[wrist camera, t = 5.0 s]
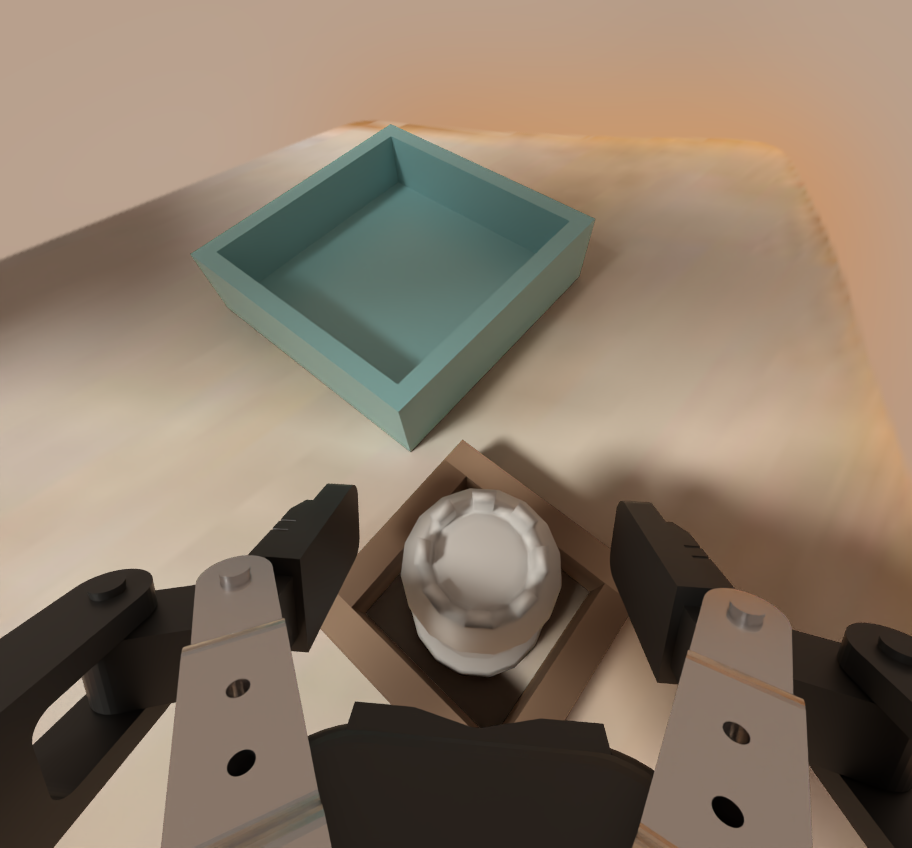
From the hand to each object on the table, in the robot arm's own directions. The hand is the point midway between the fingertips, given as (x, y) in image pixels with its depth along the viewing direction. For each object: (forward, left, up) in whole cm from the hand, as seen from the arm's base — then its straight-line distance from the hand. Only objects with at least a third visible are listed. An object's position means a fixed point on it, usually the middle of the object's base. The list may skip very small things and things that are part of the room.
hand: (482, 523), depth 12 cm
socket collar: (+1, -1, -4) cm, 5 cm away
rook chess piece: (+1, -1, -5) cm, 5 cm away
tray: (-11, +8, -4) cm, 14 cm away
